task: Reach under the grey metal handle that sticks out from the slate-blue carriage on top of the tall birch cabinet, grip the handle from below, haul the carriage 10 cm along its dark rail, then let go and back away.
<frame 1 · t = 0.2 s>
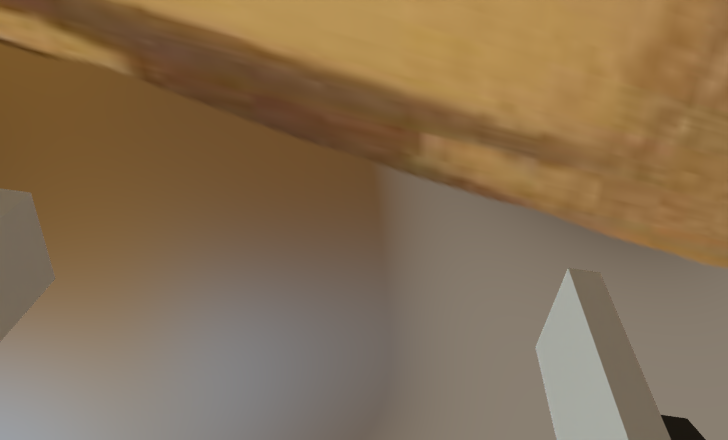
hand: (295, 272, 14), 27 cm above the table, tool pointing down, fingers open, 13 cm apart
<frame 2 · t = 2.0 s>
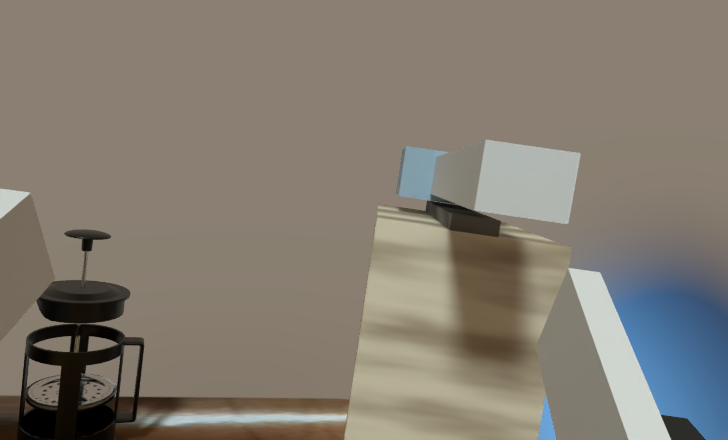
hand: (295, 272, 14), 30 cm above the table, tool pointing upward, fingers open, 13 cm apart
carriage: (472, 179, 36), point 33 cm above the table, slide at 0.0 cm
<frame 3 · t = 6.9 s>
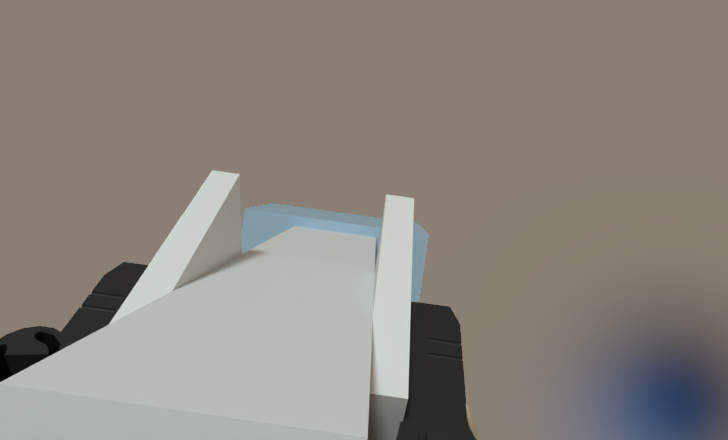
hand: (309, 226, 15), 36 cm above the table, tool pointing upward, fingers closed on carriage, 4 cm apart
carriage: (314, 290, 20), point 33 cm above the table, slide at 0.0 cm, touching gripper
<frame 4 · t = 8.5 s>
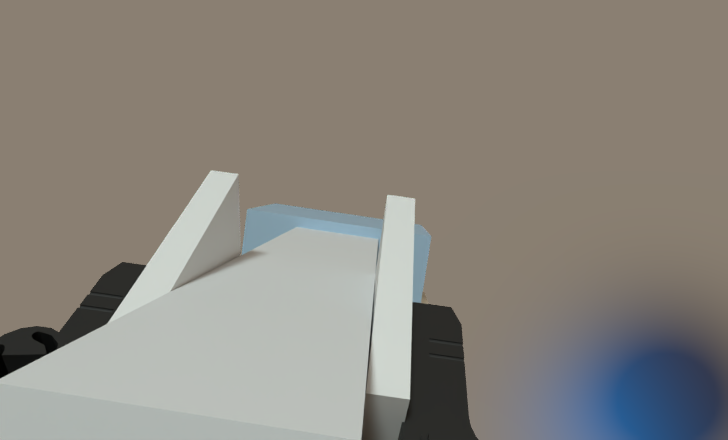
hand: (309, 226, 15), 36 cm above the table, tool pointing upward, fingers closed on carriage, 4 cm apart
carriage: (315, 290, 20), point 33 cm above the table, slide at 5.9 cm, touching gripper
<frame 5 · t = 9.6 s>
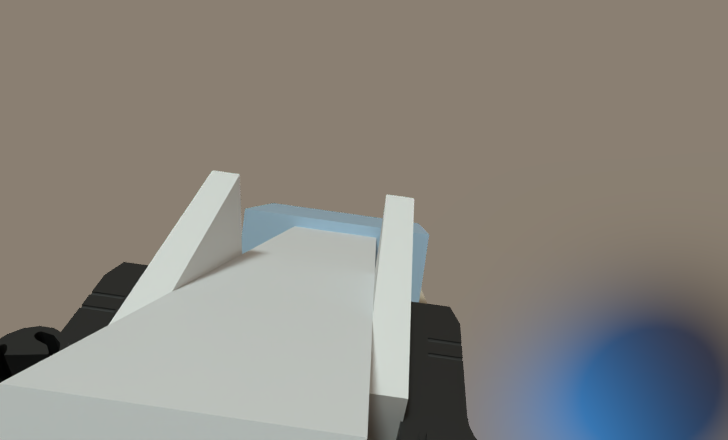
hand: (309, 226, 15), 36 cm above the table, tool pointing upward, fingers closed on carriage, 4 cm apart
carriage: (315, 290, 20), point 33 cm above the table, slide at 10.0 cm, touching gripper
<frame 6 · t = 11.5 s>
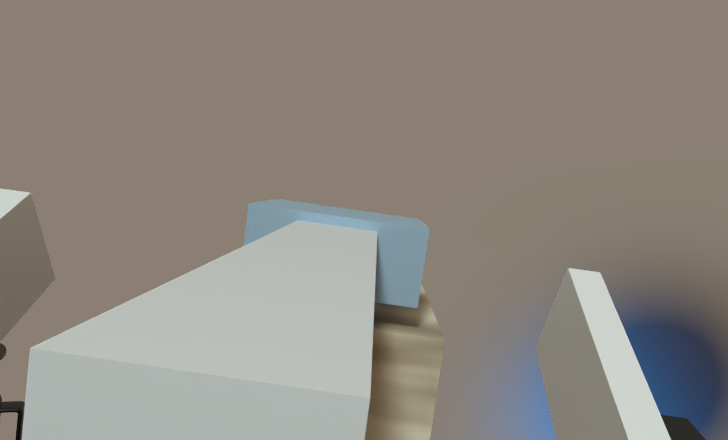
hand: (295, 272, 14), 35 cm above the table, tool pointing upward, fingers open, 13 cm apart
carriage: (317, 281, 20), point 33 cm above the table, slide at 10.0 cm
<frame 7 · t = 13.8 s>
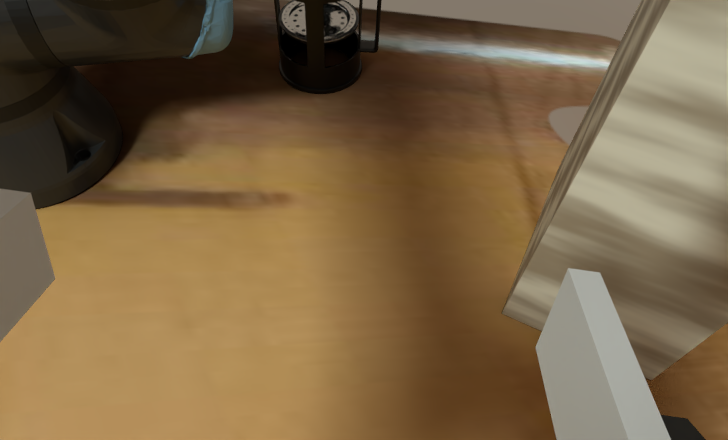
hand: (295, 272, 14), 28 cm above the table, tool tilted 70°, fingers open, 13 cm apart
french press: (325, 68, 62), on the table
rail cabinet: (598, 260, 48), on the table
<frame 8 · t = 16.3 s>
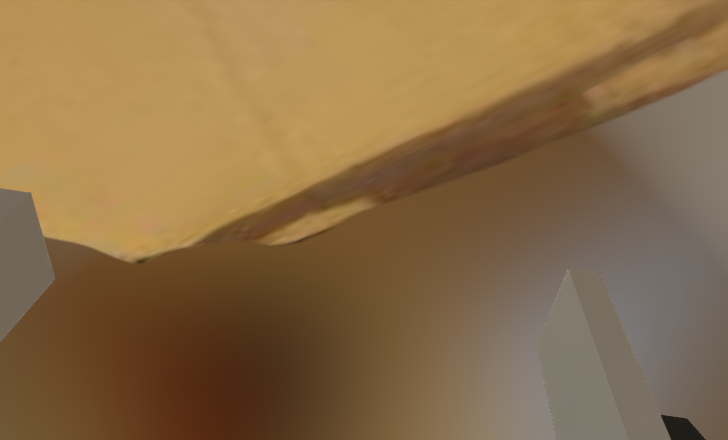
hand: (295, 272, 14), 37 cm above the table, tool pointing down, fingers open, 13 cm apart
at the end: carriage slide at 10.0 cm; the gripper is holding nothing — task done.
